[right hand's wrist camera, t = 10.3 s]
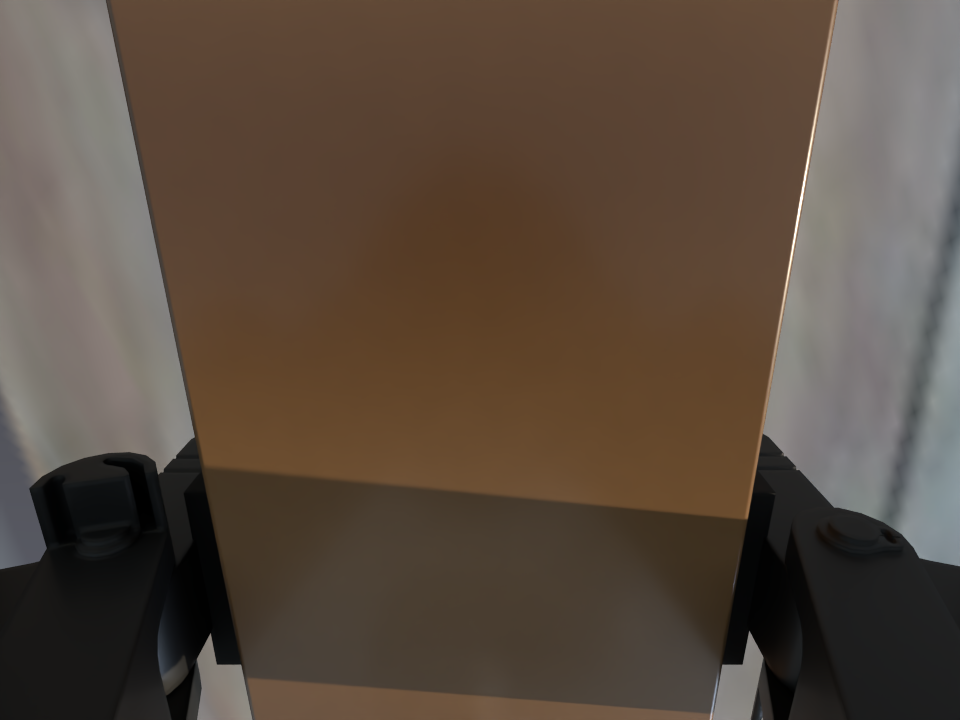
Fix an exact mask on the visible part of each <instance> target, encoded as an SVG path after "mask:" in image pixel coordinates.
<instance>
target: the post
mask: <svg viewBox="0 0 960 720" xmlns="http://www.w3.org/2000/svg"><path fill="white" fill-rule="evenodd" d="M838 1H839V0H106V3H107V8H108V13H109V18H110V23H111V27H112V32H113V37H114V42H115V47H116V52H117V57H118V62H119V67H120V72H121V77H122V81H123V86H124V91H125V96H126V101H127V106H128V111H129V116H130V121H131V126H132V130H133V135H134V140H135V145H136V150H137V155H138V160H139V165H140V170H141V175H142V180H143V184H144V189H145V194H146V199H147V204H148V209H149V214H150V219H151V224H152V229H153V233H154V238H155V243H156V248H157V253H158V258H159V263H160V268H161V273H162V278H163V283H164V287H165V292H166V297H167V302H168V307H169V312H170V317H171V322H172V327H173V332H174V337H175V341H176V346H177V351H178V356H179V361H180V366H181V371H182V376H183V381H184V386H185V390H186V395H187V400H188V405H189V410H190V415H191V420H192V425H193V430H194V435H195V440H196V444H197V449H198V454H199V459H200V464H201V469H202V474H203V479H204V484H205V489H206V494H207V498H208V503H209V508H210V513H211V518H212V523H213V528H214V533H215V538H216V543H217V547H218V552H219V557H220V562H221V567H222V572H223V577H224V582H225V587H226V592H227V597H228V601H229V606H230V611H231V616H232V621H233V626H234V631H235V636H236V641H237V646H238V651H239V655H240V660H241V665H242V670H243V675H244V680H245V685H246V690H247V695H248V700H249V704H250V709H251V714H252V719H253V720H713V714H714V708H715V703H716V697H717V691H718V685H719V680H720V674H721V668H722V663H723V657H724V651H725V646H726V640H727V634H728V628H729V623H730V617H731V611H732V606H733V600H734V594H735V588H736V583H737V577H738V571H739V566H740V560H741V554H742V549H743V543H744V537H745V531H746V526H747V520H748V514H749V509H750V503H751V497H752V491H753V486H754V480H755V474H756V469H757V463H758V457H759V452H760V446H761V440H762V434H763V429H764V423H765V417H766V412H767V406H768V400H769V394H770V389H771V383H772V377H773V372H774V366H775V360H776V354H777V349H778V343H779V337H780V332H781V326H782V320H783V315H784V309H785V303H786V297H787V292H788V286H789V280H790V275H791V269H792V263H793V257H794V252H795V246H796V240H797V235H798V229H799V223H800V218H801V212H802V206H803V200H804V195H805V189H806V183H807V178H808V172H809V166H810V160H811V155H812V149H813V143H814V138H815V132H816V126H817V121H818V115H819V109H820V103H821V98H822V92H823V86H824V81H825V75H826V69H827V63H828V58H829V52H830V46H831V41H832V35H833V29H834V24H835V18H836V12H837V6H838Z"/></svg>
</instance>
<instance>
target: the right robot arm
mask: <svg viewBox="0 0 960 720" xmlns="http://www.w3.org/2000/svg"><path fill="white" fill-rule="evenodd" d="M30 493H31V496H32V500H33V503H34V506H35V510H36V513H37V517H38V520H39V523H40V526H41V530H42V533H43V537H44V540H45V543H46V547H47V549H46V551H45V553H44V555H43V556H42V558H41V560H40V561H39V562H35V563H31V564H26V565H21V566H15V567H10V568H5V569H0V720H197V716H198V709H199V702H200V695H201V680H200V673H199V668H198V663H197V657H198V656H199V654H200V652H201V650H202V648H203V646H204V644H205V642H206V641H207V639H208V637H209V635H210V633H211V637H212V642H213V647H214V652H215V657H216V662H217V665H233V664H241V660H240V655H239V651H238V646H237V641H236V636H235V631H234V626H233V621H232V616H231V611H230V606H229V601H228V597H227V592H226V587H225V582H224V577H223V572H222V567H221V562H220V557H219V552H218V547H217V543H216V538H215V533H214V528H213V523H212V518H211V513H210V508H209V503H208V498H207V494H206V489H205V484H204V479H203V474H202V469H201V464H200V459H199V454H198V449H197V444H196V440H195V438H193V439H191V440H190V441H189V442H188V443H187V444H186V446H185V447H184V448H183V449H182V450H181V451H180V452H179V453H178V454H177V455H176V459H173V460H172V461H171V462H170V463H169V464H168V465H167V466H166V467H165V468H164V473H160V474H159V475H158V473H157V468H156V463H155V461H153V460H152V459H150V458H149V457H148V456H146V455H142V454H136V453H131V452H125V453H107V454H102V455H97V456H92V457H87V458H83V459H80V460H77V461H75V462H72V463H69V464H66V465H63V466H61V467H59V468H57V469H55V470H53V471H52V472H50V473H48V474H46V475H44V476H42V477H41V478H40V479H39V480H38V481H37V482H36V483H35V484H34V485H33V486H31V487H30ZM749 631H750V633H751V634H752V636H753V638H754V640H755V642H756V644H757V646H758V648H759V649H760V651H761V653H762V655H763V657H764V659H763V663H762V668H761V673H760V678H759V682H758V687H757V692H756V697H755V701H754V706H753V711H752V716H751V720H761V719H762V718H763V720H960V566H955V565H950V564H944V563H939V562H934V561H929V560H924V559H920V558H919V557H918V555H917V553H916V552H915V550H914V548H913V547H912V546H911V544H910V543H909V542H908V541H907V540H906V539H905V538H904V537H903V535H902V534H900V533H899V532H897V531H896V530H894V529H893V528H891V527H889V526H888V525H886V524H885V523H883V522H881V521H879V520H876V519H874V518H871V517H869V516H866V515H864V514H862V513H858V512H854V511H849V510H845V509H841V508H834V507H833V506H832V505H831V504H830V503H829V502H828V501H827V500H826V498H825V497H824V496H823V495H822V494H821V493H820V492H819V491H818V490H817V489H816V488H815V487H814V486H813V484H812V483H811V482H810V481H809V480H808V479H807V478H806V477H805V476H804V475H803V474H802V473H801V472H800V470H796V466H795V465H794V464H793V463H792V462H791V461H790V460H789V459H788V458H787V456H784V453H783V452H782V451H781V450H780V449H779V448H778V447H777V446H776V445H775V443H774V442H773V441H772V440H771V439H770V438H769V437H767V436H766V435H764V434H762V440H761V446H760V452H759V457H758V463H757V469H756V474H755V480H754V486H753V491H752V497H751V503H750V509H749V514H748V520H747V526H746V531H745V537H744V543H743V549H742V554H741V560H740V566H739V571H738V577H737V583H736V588H735V594H734V600H733V606H732V611H731V617H730V623H729V628H728V634H727V640H726V646H725V651H724V657H723V663H722V665H743V659H744V654H745V649H746V644H747V639H748V634H749Z"/></svg>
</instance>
